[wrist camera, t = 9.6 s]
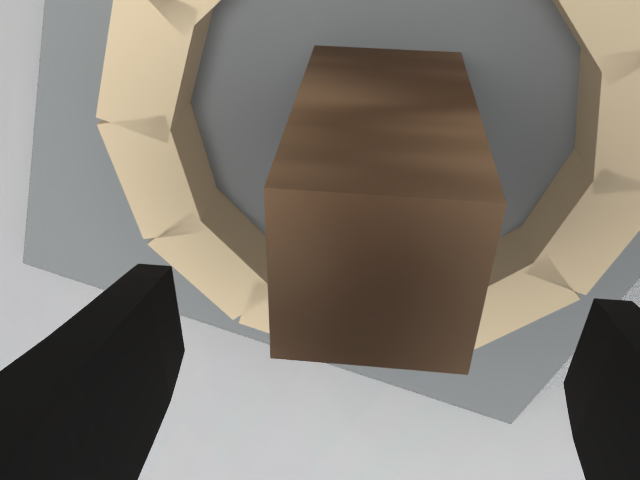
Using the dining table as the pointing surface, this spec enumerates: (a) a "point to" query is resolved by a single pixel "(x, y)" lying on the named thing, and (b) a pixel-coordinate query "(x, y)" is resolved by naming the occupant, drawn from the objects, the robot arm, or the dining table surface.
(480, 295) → the wooden peg
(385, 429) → the dining table surface
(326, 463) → the dining table surface
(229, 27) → the bead board
